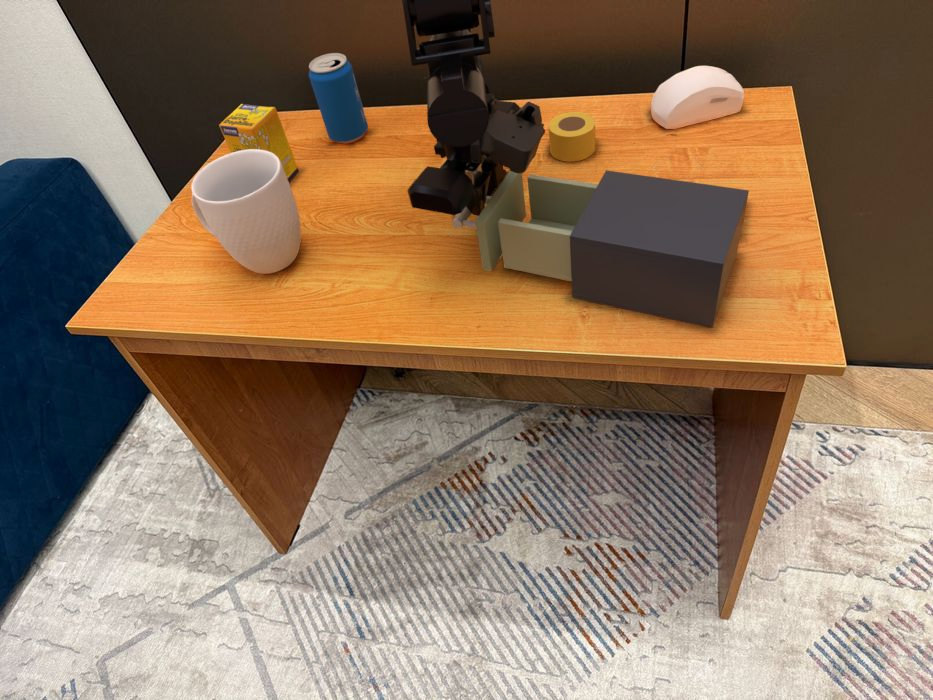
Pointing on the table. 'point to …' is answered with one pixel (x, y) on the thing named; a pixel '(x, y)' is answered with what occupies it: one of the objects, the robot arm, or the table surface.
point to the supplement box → (259, 134)
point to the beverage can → (338, 97)
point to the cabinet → (657, 246)
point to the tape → (572, 136)
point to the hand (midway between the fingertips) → (478, 213)
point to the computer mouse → (696, 97)
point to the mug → (249, 209)
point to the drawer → (530, 224)
